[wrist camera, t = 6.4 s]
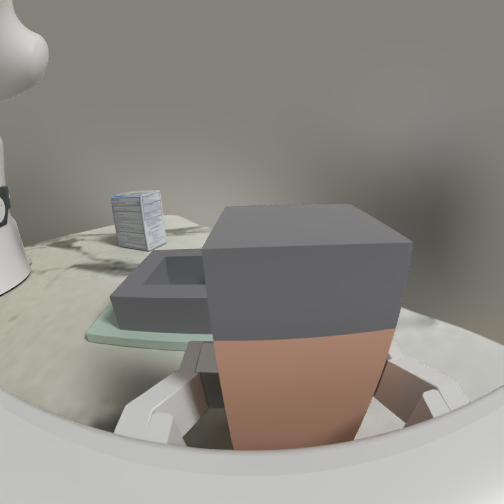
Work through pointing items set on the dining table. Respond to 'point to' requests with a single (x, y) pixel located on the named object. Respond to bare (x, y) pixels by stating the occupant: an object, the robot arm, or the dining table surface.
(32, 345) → the dining table surface
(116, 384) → the dining table surface
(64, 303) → the dining table surface
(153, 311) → the board
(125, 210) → the medicine box
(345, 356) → the plug
